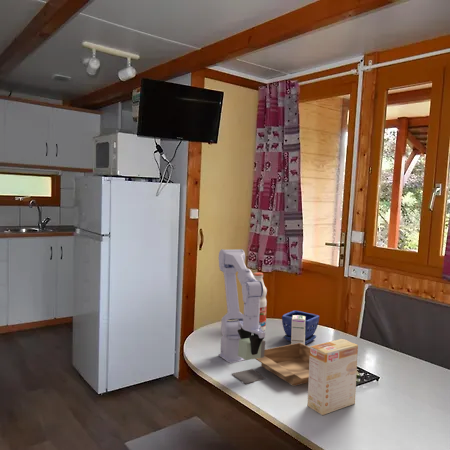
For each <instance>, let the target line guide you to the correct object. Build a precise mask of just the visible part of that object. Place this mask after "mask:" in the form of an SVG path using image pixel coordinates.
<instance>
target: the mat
mask: <svg viewBox="0 0 450 450" xmlns="http://www.w3.org/2000/svg"><path fill="white" fill-rule="evenodd" d="M231 375H232V376H233V377H235V378H236V379H238V380H239V381H240V382H241V383H243V384H244V385H248V384H252V383H255V382H258V381H262V380H267V377H265V376H264V375H262V374H261V373H259V372H258V371H256V370H255V369H253V368H251V369H247V370H241V371H237V372H231Z"/></svg>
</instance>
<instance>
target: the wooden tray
mask: <svg viewBox="0 0 450 450" xmlns="http://www.w3.org/2000/svg"><path fill="white" fill-rule="evenodd" d="M309 359H310V346H308V345H307V344H305V345H304V344H302V343H296V344H291V343H290V344H287V345H280V346H276V347H272V348H267V349H265V352H264V357H263V358H257V359H255V360H257V361H258V362H260V364H261V367H262V368H264V369H265V370H267V371H269V372H270V373H272V374H274V375H275V376H277V377H278V378H280V379H281V380H283V381H285V382H286V383H288V384H289V385H291V386H293V387H295V386H299V385H302V384H306V383H308V382H309Z"/></svg>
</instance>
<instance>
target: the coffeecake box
mask: <svg viewBox="0 0 450 450" xmlns="http://www.w3.org/2000/svg"><path fill="white" fill-rule="evenodd" d="M309 347H310V359H309V382H307V383H308V385H307V387H308V388H307V407H308V408H310V409H311V410H313V411H315V412H316V413H318V414H320V416H325V415H327V414H329V413H333V412H335V411H338V410H341V409H344V408H348V407H349V406H352V405H355V404H356V395H357V393H356V392H357V391H356V389H357V375H358V374H357V371H358V369H357V368H358V352H359V344H356V343H354V342H351V341H349V340H347V339H344V338H339V339H335V340H331V341H328V342H323V343H318V344H314V345H310V346H309Z"/></svg>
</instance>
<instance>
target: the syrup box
mask: <svg viewBox="0 0 450 450" xmlns="http://www.w3.org/2000/svg"><path fill="white" fill-rule="evenodd" d="M296 343H302V344H304V345H306V344H305V316H301V315H293V316H292V329H291V341H290V345H291V344H296Z"/></svg>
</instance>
